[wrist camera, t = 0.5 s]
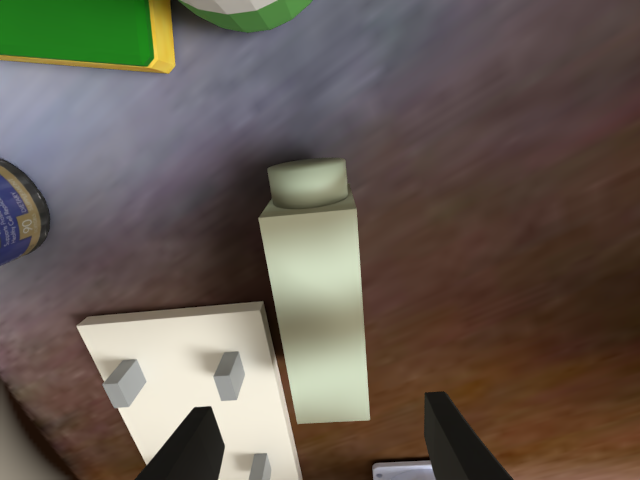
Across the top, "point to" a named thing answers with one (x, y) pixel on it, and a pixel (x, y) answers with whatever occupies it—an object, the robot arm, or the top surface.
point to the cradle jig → (198, 381)
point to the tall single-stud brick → (317, 288)
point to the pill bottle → (20, 214)
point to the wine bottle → (246, 12)
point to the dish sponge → (89, 33)
